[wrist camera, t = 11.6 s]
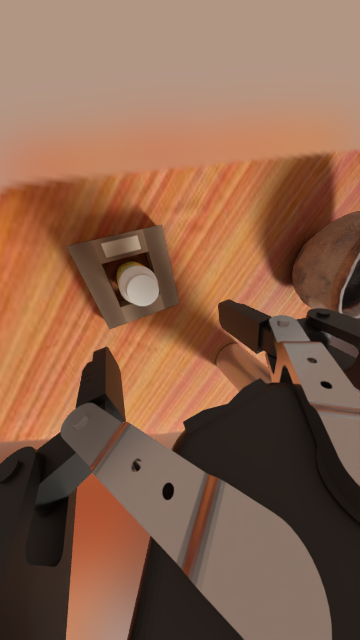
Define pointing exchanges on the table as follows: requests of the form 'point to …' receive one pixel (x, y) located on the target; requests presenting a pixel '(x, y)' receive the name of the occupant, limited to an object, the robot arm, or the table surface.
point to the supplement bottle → (137, 283)
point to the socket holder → (118, 247)
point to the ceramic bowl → (331, 267)
